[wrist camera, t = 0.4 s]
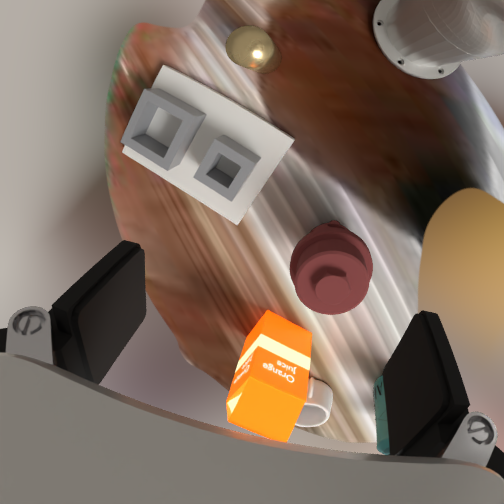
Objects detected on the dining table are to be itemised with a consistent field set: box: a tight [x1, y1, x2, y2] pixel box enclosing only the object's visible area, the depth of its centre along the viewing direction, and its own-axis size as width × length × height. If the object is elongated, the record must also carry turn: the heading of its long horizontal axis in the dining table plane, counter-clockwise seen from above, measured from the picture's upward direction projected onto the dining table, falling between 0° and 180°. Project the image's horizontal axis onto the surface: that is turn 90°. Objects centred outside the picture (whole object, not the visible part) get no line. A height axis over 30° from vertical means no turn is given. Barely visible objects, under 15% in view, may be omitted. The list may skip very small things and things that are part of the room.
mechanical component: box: [290, 220, 373, 315], centre depth 39 cm, size 12×10×10 cm
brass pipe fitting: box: [226, 26, 282, 74], centre depth 31 cm, size 4×4×10 cm
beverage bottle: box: [373, 375, 390, 455], centre depth 46 cm, size 6×7×20 cm
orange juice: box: [226, 310, 312, 442], centre depth 46 cm, size 8×9×20 cm
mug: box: [295, 377, 333, 427], centre depth 57 cm, size 12×10×6 cm
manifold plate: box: [121, 65, 295, 225], centre depth 39 cm, size 14×20×6 cm
